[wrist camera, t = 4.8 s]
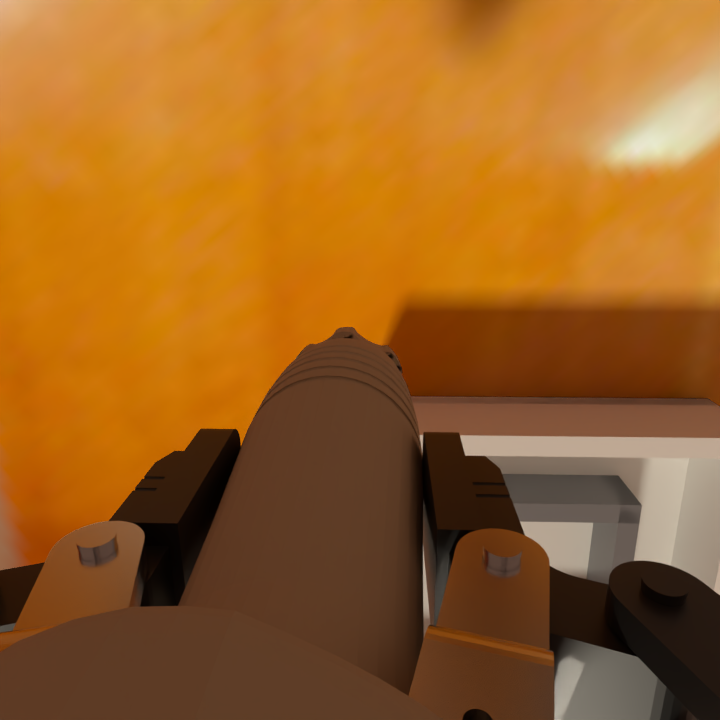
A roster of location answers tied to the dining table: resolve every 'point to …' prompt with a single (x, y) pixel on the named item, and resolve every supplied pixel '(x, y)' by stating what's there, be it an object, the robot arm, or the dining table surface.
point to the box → (599, 476)
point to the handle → (272, 574)
